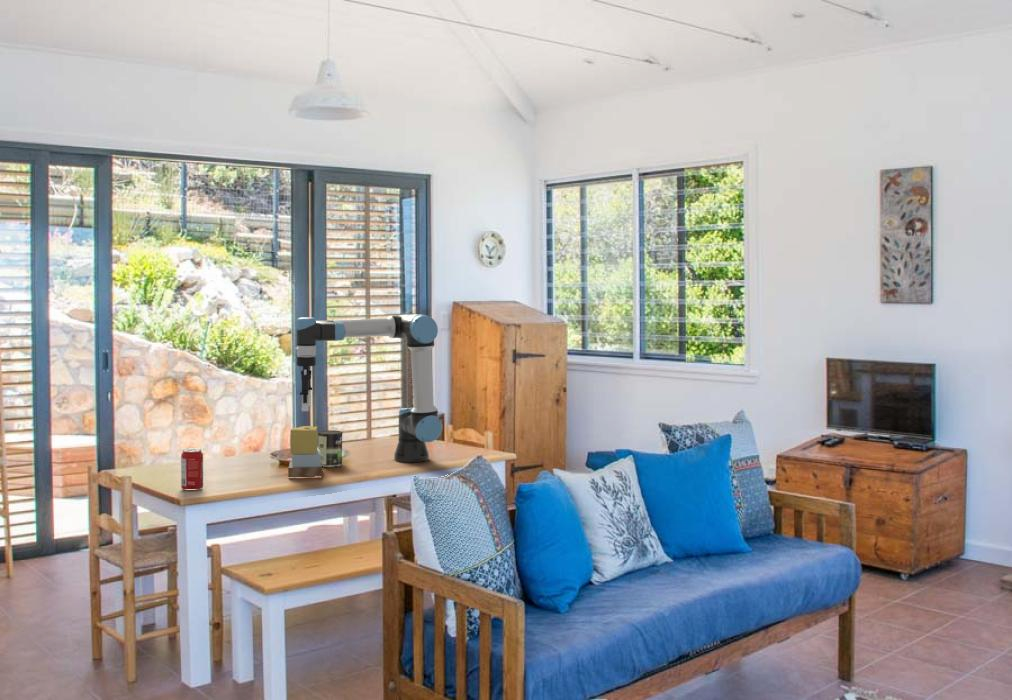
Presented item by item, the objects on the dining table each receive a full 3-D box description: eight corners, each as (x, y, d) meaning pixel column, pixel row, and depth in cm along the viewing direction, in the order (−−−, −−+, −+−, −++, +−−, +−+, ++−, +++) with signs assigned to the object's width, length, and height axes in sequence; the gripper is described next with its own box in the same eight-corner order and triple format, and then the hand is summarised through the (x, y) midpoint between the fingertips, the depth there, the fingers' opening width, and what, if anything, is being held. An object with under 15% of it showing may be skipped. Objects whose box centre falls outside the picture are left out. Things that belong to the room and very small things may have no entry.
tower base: (322, 473, 417) (322, 461, 417) (321, 480, 405) (321, 467, 404) (289, 473, 415) (290, 461, 415) (288, 480, 403) (288, 467, 402)
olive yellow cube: (292, 450, 414) (292, 425, 413) (318, 449, 415) (319, 425, 414) (289, 454, 403) (289, 429, 403) (317, 454, 405) (317, 429, 404)
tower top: (319, 461, 416) (319, 449, 416) (320, 466, 406) (320, 454, 405) (291, 462, 414) (292, 450, 414) (292, 467, 403) (292, 454, 403)
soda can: (177, 491, 376) (177, 451, 375) (187, 486, 384) (187, 447, 383) (197, 492, 375) (197, 452, 374) (206, 487, 383) (206, 448, 382)
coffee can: (345, 463, 436) (346, 430, 435) (337, 467, 426) (337, 434, 424) (323, 461, 438) (323, 429, 437) (313, 466, 428) (314, 433, 427)
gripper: (298, 353, 419) (298, 404, 420) (294, 358, 394) (294, 413, 396) (317, 353, 420) (317, 404, 421) (314, 359, 395) (314, 413, 397)
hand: (306, 408), depth 409 cm, fingers open, 13 cm apart
